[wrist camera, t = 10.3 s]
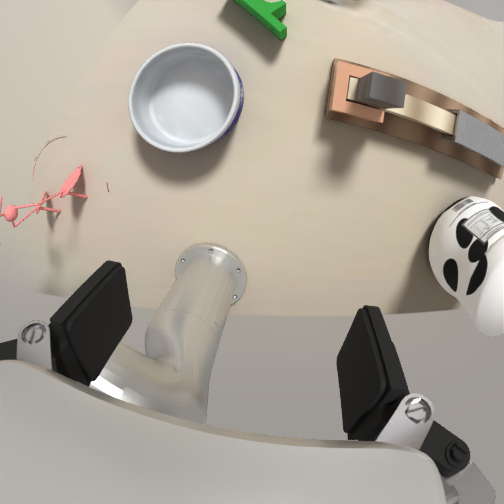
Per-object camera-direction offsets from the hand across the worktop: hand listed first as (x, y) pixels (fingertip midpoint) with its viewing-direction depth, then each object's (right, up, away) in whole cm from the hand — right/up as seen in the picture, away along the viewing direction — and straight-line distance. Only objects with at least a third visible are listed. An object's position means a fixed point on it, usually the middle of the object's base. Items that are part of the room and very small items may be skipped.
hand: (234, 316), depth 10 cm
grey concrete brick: (+36, +20, +20) cm, 46 cm away
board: (+28, +22, +21) cm, 42 cm away
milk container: (+38, +5, +29) cm, 48 cm away
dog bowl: (-8, +25, +25) cm, 36 cm away
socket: (+15, +24, +21) cm, 35 cm away
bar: (+23, +22, +20) cm, 38 cm away
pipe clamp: (+2, +37, +18) cm, 41 cm away
